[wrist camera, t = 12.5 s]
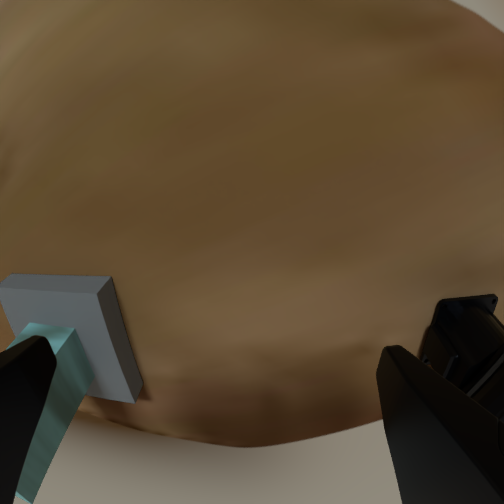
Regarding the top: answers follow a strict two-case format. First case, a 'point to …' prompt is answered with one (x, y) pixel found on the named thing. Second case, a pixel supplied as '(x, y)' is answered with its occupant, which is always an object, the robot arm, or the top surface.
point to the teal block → (54, 402)
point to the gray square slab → (79, 324)
